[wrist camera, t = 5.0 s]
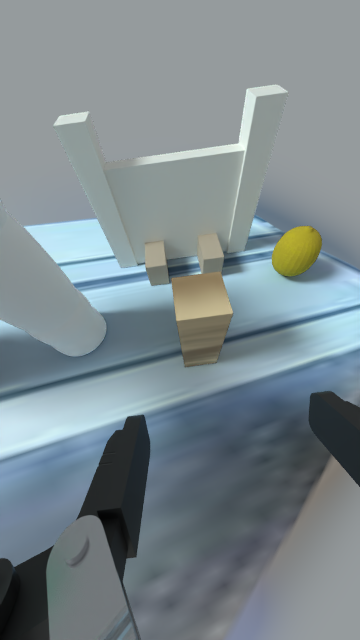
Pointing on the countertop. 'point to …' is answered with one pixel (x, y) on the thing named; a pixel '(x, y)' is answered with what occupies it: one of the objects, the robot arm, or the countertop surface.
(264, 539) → the countertop surface
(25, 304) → the water bottle
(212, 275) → the tan wooden block
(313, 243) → the lemon
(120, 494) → the robot arm
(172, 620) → the countertop surface
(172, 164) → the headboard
